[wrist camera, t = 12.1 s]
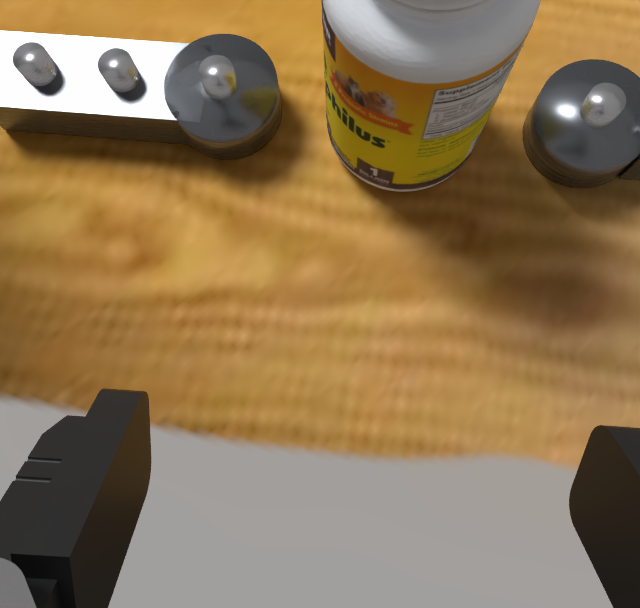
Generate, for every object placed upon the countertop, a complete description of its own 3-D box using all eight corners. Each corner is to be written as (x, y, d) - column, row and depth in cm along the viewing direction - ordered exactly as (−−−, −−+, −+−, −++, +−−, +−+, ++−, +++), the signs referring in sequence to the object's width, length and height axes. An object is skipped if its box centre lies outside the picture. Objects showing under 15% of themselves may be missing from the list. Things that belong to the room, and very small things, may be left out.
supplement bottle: (303, 95, 23) (275, -161, 13) (435, 41, 24) (505, -249, 14) (364, 222, 22) (383, 45, 12) (502, 163, 22) (632, -57, 13)
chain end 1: (1, 141, 23) (-40, 105, 21) (23, 48, 24) (-14, 3, 22) (275, 163, 23) (267, 129, 20) (287, 67, 24) (281, 22, 21)
